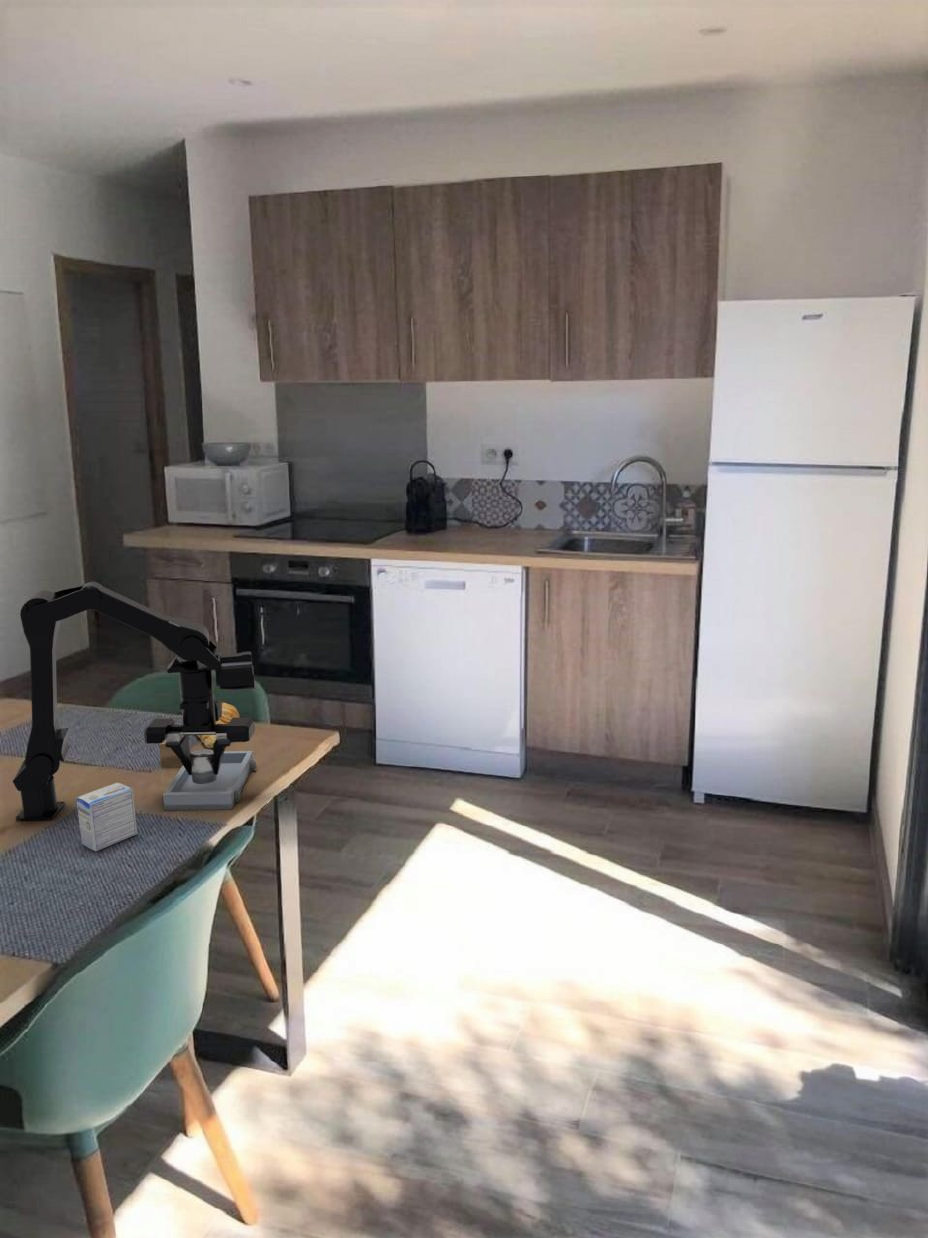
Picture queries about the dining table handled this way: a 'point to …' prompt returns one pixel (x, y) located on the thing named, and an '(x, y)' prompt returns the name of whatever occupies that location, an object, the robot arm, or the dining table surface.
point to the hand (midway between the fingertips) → (203, 774)
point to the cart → (211, 785)
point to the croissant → (227, 715)
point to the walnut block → (168, 757)
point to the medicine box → (106, 816)
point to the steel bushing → (202, 766)
